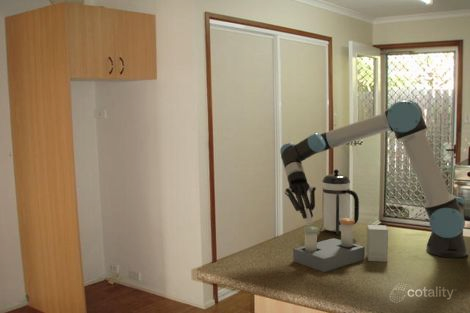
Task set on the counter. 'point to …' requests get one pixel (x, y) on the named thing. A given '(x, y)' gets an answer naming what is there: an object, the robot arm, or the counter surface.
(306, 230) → the green capped cylinder
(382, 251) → the supplement box
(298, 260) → the console
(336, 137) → the robot arm
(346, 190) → the coffee press
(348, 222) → the orange capped cylinder
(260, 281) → the counter surface
